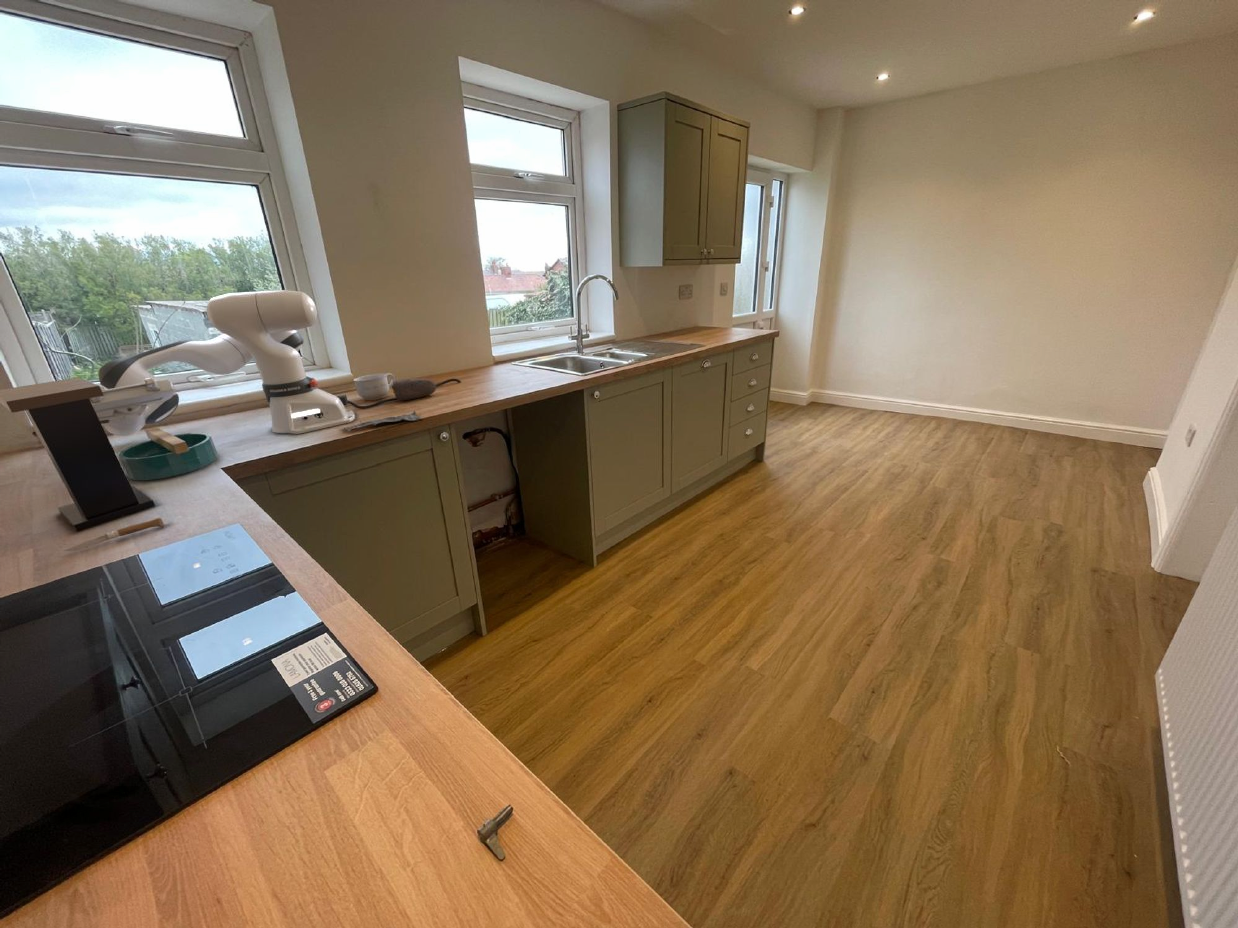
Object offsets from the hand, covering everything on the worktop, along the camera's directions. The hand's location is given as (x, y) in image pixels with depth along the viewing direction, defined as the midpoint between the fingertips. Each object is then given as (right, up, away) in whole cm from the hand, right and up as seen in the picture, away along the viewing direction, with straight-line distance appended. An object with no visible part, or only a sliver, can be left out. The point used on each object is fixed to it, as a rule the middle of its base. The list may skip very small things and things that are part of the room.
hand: (126, 385), depth 125 cm
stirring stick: (+12, -15, -2) cm, 19 cm away
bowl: (+12, -21, 0) cm, 24 cm away
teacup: (+37, +4, +55) cm, 67 cm away
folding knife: (+30, -34, -32) cm, 56 cm away
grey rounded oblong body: (+52, +3, +52) cm, 73 cm away
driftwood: (+52, -8, +26) cm, 59 cm away
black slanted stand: (+16, -29, -20) cm, 39 cm away
